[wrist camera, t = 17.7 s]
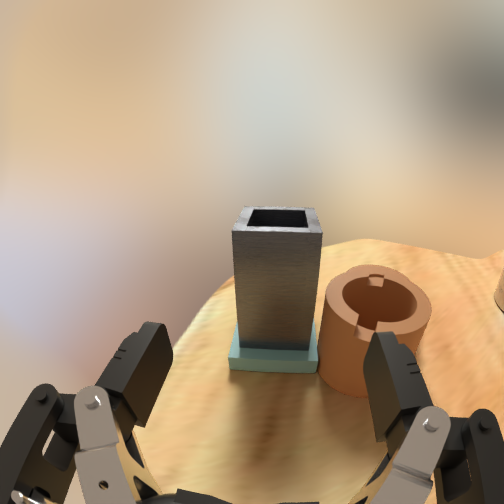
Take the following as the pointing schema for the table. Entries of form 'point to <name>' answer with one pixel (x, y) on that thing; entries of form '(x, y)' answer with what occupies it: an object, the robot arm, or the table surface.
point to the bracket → (366, 321)
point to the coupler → (276, 276)
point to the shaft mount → (273, 358)
